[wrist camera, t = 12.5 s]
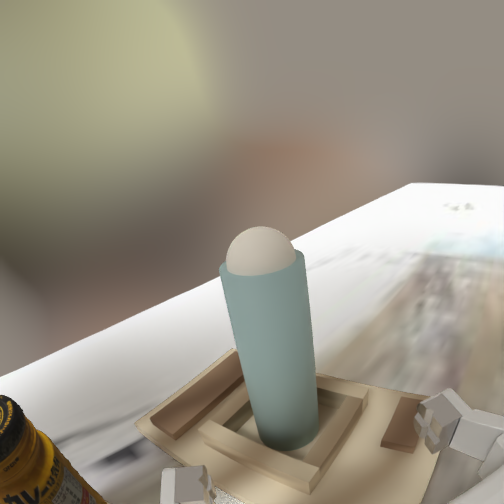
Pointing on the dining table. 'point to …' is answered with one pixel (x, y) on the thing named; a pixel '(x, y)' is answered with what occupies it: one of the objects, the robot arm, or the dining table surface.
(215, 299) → the dining table surface
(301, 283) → the roll-on deodorant
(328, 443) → the jig
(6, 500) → the condiment
